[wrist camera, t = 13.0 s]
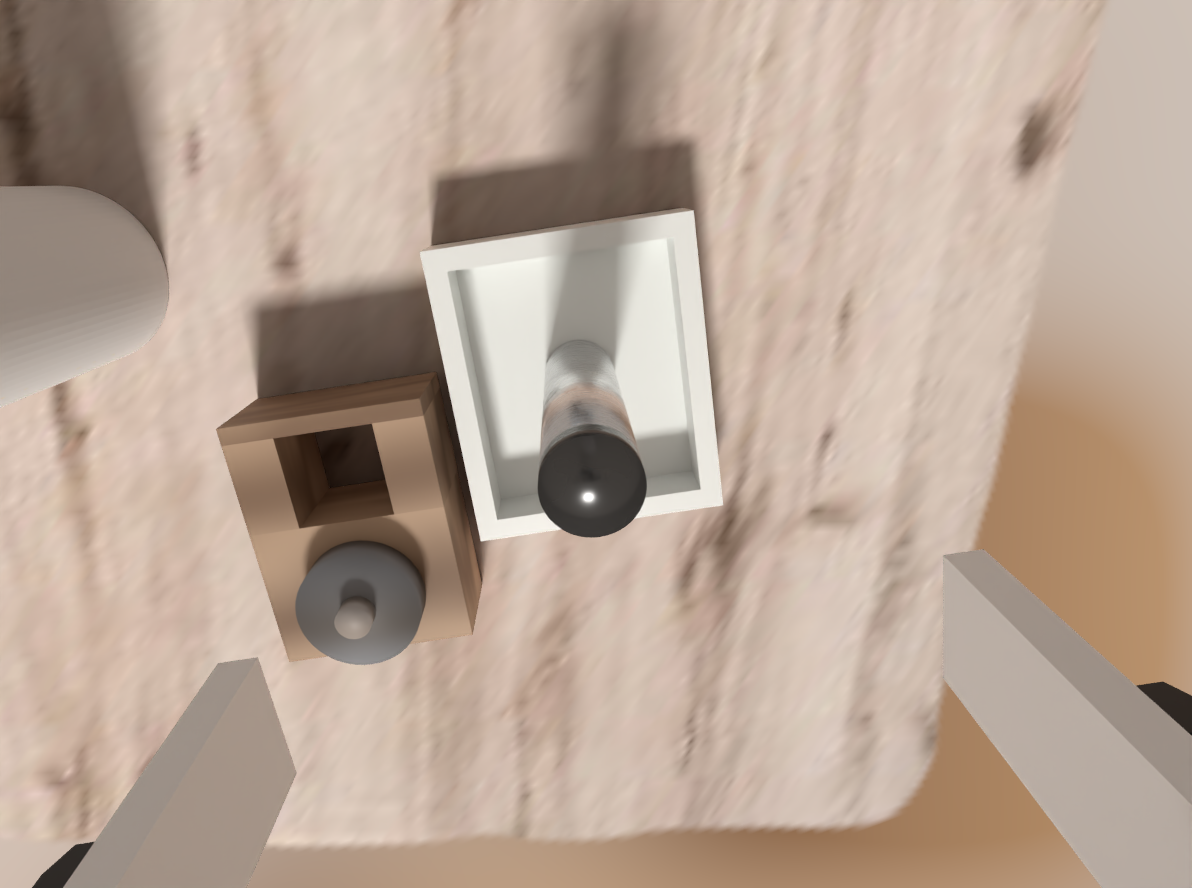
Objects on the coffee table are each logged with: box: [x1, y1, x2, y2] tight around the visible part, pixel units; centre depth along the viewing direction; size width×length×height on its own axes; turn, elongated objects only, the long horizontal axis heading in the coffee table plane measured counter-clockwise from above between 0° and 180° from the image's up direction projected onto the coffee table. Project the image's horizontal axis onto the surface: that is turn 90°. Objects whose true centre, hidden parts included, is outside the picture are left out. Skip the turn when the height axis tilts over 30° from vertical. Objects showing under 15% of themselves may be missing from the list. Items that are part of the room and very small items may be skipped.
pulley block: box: [216, 372, 482, 665], centre depth 38 cm, size 12×9×8 cm
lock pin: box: [538, 340, 647, 537], centre depth 32 cm, size 3×3×15 cm
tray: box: [420, 208, 723, 541], centre depth 38 cm, size 14×12×3 cm
